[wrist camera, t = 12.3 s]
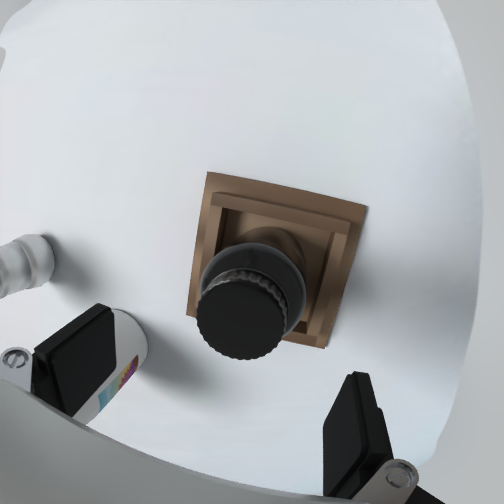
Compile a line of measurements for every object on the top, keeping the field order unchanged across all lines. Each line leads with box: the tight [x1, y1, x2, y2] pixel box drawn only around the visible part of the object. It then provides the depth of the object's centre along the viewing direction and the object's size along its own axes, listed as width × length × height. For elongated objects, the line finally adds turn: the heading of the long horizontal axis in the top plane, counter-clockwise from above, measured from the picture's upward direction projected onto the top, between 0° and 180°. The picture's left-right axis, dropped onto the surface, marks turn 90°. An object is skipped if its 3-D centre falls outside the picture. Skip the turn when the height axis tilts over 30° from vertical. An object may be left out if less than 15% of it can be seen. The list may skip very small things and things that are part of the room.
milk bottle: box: [72, 309, 148, 425], centre depth 23 cm, size 8×8×20 cm
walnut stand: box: [186, 172, 366, 349], centre depth 26 cm, size 14×14×3 cm
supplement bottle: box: [196, 226, 307, 360], centre depth 21 cm, size 7×7×12 cm
